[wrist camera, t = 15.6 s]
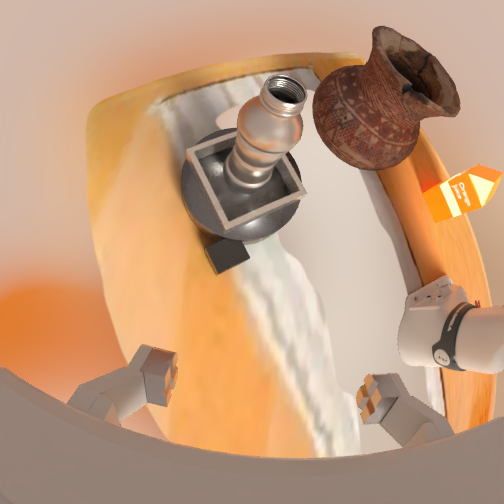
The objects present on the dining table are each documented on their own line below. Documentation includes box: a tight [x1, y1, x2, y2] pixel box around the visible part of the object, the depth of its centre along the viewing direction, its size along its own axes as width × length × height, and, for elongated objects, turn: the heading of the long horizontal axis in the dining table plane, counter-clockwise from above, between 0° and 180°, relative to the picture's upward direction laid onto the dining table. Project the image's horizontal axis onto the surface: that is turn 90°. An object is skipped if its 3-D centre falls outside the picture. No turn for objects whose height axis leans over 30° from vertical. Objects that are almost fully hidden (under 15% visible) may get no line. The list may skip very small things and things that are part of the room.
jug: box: [313, 26, 460, 170], centre depth 38 cm, size 22×21×25 cm
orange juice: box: [422, 164, 503, 223], centre depth 44 cm, size 8×9×20 cm
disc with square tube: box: [181, 128, 307, 275], centre depth 40 cm, size 18×20×8 cm
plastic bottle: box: [223, 75, 307, 195], centre depth 29 cm, size 6×7×20 cm
